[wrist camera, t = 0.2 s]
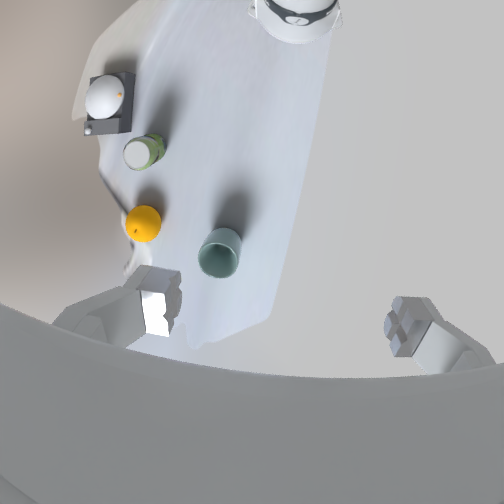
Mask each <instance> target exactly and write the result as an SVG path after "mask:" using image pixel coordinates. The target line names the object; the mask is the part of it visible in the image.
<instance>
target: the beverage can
mask: <svg viewBox="0 0 504 504" xmlns="http://www.w3.org/2000/svg"><path fill="white" fill-rule="evenodd" d="M165 152H166V143H165V141H164V139H163V138H162V137H161V136H159V135H157V134H148V135H144V136H141V137H137V138H134V139H132V140H130V141H129V142H128V143H127V144H126V146H125V148H124V151H123V158H124V161H125V163H126V165H127V166H128V167H129V168H131V169H133V170H137V171H140V170H144V169H146V168H148V167H149V166H151V165H152V164H154V163H155V162H157V161H158V160H160V159H161V158H162V157H163V156H164V154H165Z"/></svg>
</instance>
